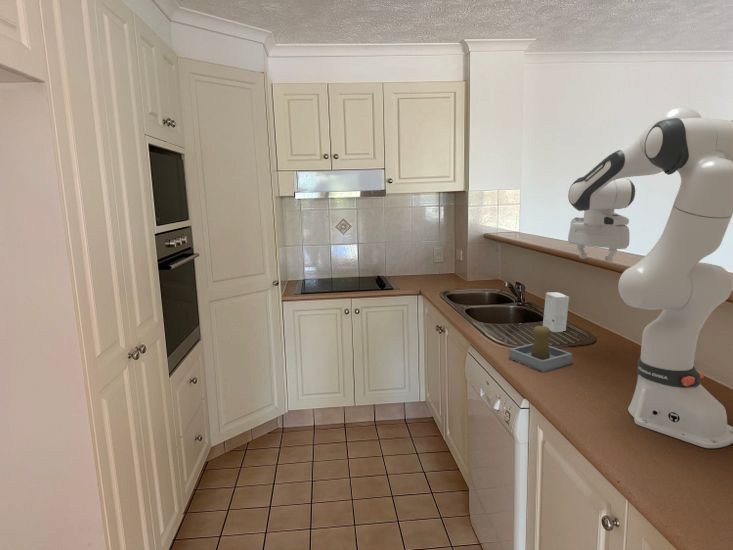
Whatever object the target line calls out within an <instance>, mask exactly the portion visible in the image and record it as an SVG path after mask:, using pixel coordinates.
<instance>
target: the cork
mask: <svg viewBox="0 0 733 550" xmlns="http://www.w3.org/2000/svg"><path fill="white" fill-rule="evenodd" d="M532 333H533V335H534V339H533V343H532V344H533V348H532V353H531V356H533V357H535V358H538V359H540V360H545V359H549V358H550V354H549V346H550V345H549V337H550V334H551V331H550V330H549V328H548V327H545V326H543V325H537V326H535V327H534V328H533V331H532Z"/></svg>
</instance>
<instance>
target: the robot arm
mask: <svg viewBox="0 0 733 550" xmlns="http://www.w3.org/2000/svg"><path fill="white" fill-rule="evenodd" d="M662 172H663V173H664V174H666V175H668V176H669V175H672V174H674V173H676V172H677V173H678V174H679V176H680V184H679V188H678V190H677V194H676V196H675V199H674V202H673V205H672V207H671V210H670V213H669V216H668V219H667V221H666V224H665V227H664V229H663V231H662V233H661V235H660V237H659V238H658V241H657V242H656V243H655V245H654V246H653V247H652V248H651V249H650V250H649V251H648V252H647V254H646V255H645V256H644V257H643V258H641V259H640V261H638V262H636V263H635V264H633V265H632V266H630V267H628V268H626V269H625V270H624V271H623V272H622V273H621V275H620V278H619V279H618V283H617V285H618V287H617V289H618V294H619V296H620V298H621V299H622V301H623V302H624V304H626V305H627V306H628V307H630V308H635V309H636V308H637V309H640V310H641V309H642V310H646V311H648V310H649V311H652V310H654V311H655V310H657V311H658V310H662V311H661V312H660V314H659V315H658V316H657V318H656V319H654V320H652V321H651V322H649V324H647V325H646V326H645V328H644V329H643V331H642V336H641V345H640V346H641V347H640V357H638V359H637V369H636V376H637V379H636V380H637V381H636V386H635V390H634V393H633V396H632V399H631V402H630V404H629V405H628V407H627V408H628V409H627V410H628V412H629V414H630V415H631V416H632V417H633V420H634V424H636V425H637V426H640V427H643V428H646V429H648V430H651V431H655V432H658V433H660V434H664V435H666V436H669V437H672V438H675V439H677V440H679V441H683V442H686V443H690V444H693V445H694V446H699V447H701V448H705V449H719V448H724V447H727V446H729V445H731V444H733V426H732V425H729V424H728V415H727V411H726V408H725V407H724V405H723V404H722V403H721V402H720V401H718V400H717V398H715V397H714V396H713V395H712V394H711V393H710V392H709V391H708V390H707V389H706V388H705V387H704V386H703V385H702V384H701V379H702V378H704V377H705V374H706V373H705V372H704V371H703V372H701V373H699V372H698V371H697V369H696V367H695V365H694V364H695V363H694V362H695V356H696V349H697V341H698V338H699V335H700V332H701V330H702V329H703V326H704V325H705V322H706V321H707V319H708V318H709V317H710V315H711V314H712V312H714V310H715V309H716V308H717V307H718V306H719V305H721V304H723V303H724V302H725V301H727V300H728V299H729V297H730V296H731V294H732V290H733V280H732V277H731V275H730V273H729V271H728V270H727V269H726V268H724V267H723V266H721V265H716V264H712V263H706V262H701V261H702V260H703V259H705V258H706V257H708V256H710V255H712V254H713V253H715V251H717V250H718V249H719V248H720V247H721V244H722V241H723V240H724V237H725V235H726V232H727V229H728V227H729V224H730V222H731V220H732V217H733V120H726V119H721V118H719V119H718V118H710V117H702V116H701V115H700V113H698V112H697V111H696V110H695V109H693V108H690V107H685V106H684V107H683V106H681V107H680V106H679V107H675V108H672V109H670V110H667V112H665V113H663V114H662V115H661V116H660V117H658V119H656V120H655V121H654V122H652V123H651V124H650V125H649V126H648V127H647V128H646V129H645V130H644V132H642V134H640V135H639V136H638V137H637V138H635V139H634V140H633V141H631V142H630V143H628V144H627V145H625V146H623V147H622V148H620V149H619V150H616V151H614V152H613V153H611V154H609V155H608V156H606V157H605V158H604V159H602V161H600V162H599V163H598V164H597V165H596V166H594V167H593V168H592V169H591V170H590V171H588V173H586V174H585V175H584V176H582V177H578V178H577V179H576V180H574V182H573V183H572V184H571V185H570V187H569V190H568V195H567V196H568V202H569V204H570V205H571V206H572V207H573V208H574V209H576V210H577V211H578V212H583V217H578V216H577V217H574V218H573V219H571V221H570V227H569V231H568V237H567V241H568V243H569V244H570V245H576V249H577V250H578V253H579V258H580V259H587V257H588V253H587V252H585V247H586V246H587V247H597V248H603V249H604V248H607V249H608V252H609V253H608V255H605V256H604V262H606V263H607V262H608V263H612V262H613V259H614V258H613V257H614V256H615V254H616V253H617V251H618V250H626V249H628V247H629V245H630V238H631V237H630V229H629V226H628V225H629V222H630V219H629V218H628V217H626V216H623V215H621V214H618V213H616V212H615V210H621V209H626V208H628V207H629V206H630V205H631V204H632V203H633V201H634V200H635V197H636V187H635V185H634V183H633V181H632V180H630V179H629V178H631V177H633V178H634V177H640V176H641V177H643V176H652V175H653V176H654V175H657V174H660V173H662Z"/></svg>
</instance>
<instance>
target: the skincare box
mask: <svg viewBox="0 0 733 550" xmlns="http://www.w3.org/2000/svg"><path fill="white" fill-rule="evenodd" d="M569 302H570V296H568V295H566V294H564V293H561V292H558V291H557V292H556V291H555V292H552V291H551V292H545V301H544V309H543V310H544V311H543V320H542V326H545V327H548V328H549V330H550V332H552V333H564V332H563V331H566V332H567V323H568V322H567V321H568V311H569V305H570V304H569Z"/></svg>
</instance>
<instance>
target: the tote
mask: <svg viewBox="0 0 733 550" xmlns="http://www.w3.org/2000/svg"><path fill="white" fill-rule="evenodd" d="M532 348H533V343H530V344H524V345H521V346H517V347H512V348H509V350H508V351H509V354H508V359H509V358H510V359H509V360H511V359H512V360H511V361H513V360H515V361H514V362H516V361H518V362H520V363H522V364H521V365H523V364H525V365H527V366H526V367H528V366H530V367H532V368H531V369H533V368H534V369H533V370H535V369H536V370H535V371H537V370H539V371H538V372H540V371H541V372H540V373H545V372H549V371H552V370H555V369H560V368H562V367H566V366H570V365H572V364H573V357H574V356H573V353H571V352H570V351H569V352H568V351H566V350H562V349H559V348H557V347H553V346H552V345H549V354H550V358H549V359H545V360H540V359H538V358H535V357H533V356H531V353H532ZM518 362H517V363H518ZM520 363H519V364H520ZM525 365H524V366H525ZM530 367H529V368H530Z"/></svg>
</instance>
